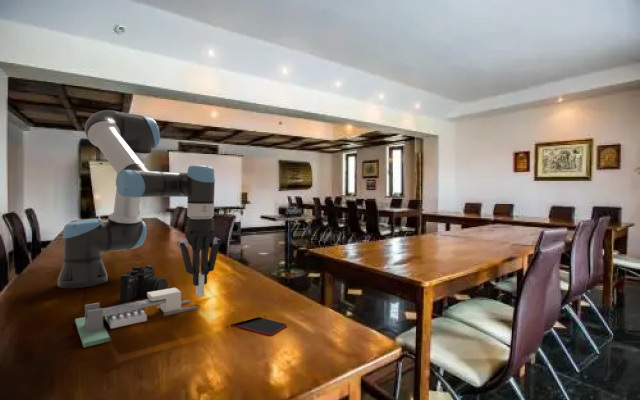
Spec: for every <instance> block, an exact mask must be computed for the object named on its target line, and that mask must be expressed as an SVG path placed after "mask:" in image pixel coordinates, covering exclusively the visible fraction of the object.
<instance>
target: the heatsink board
mask: <svg viewBox="0 0 640 400" xmlns="http://www.w3.org/2000/svg"><path fill="white" fill-rule="evenodd" d="M190 300H191V299H186V300H183V301H182V300H181V306H182V305H186V304H190V302H191V301H190ZM100 304H101V303H100V302H95V303H89V304H84V317H77V318H75V320H74V323H75V325H76V326H75V327H76V329H77V333H78V335H79V338H80V341H81V345H82V347H83V348H87V347H88V348H89V347H92V346H96V345H100V344H105V343H108V342H112V340H113V339H112V338H111V336H110V334H109V332H108V331H107V329H106V327H105V325H104V317H105V321H106V323H107V324H108V326H109V328H110V329H116V328H120V327H124V326H128V325H133V324H138V323H142V322H143V323H144V322H147V321H148V317H147V316H148V315H147V314H146V313H145V311H144V309H143V308H140V309H135V310H131V311H126V312H122V313H117V314H113V315H108V316H104V317H103V307H101V308H100ZM196 309H198V305H193V306H189V307H188V306H187V307H184V308H183V307H182V308H181V309H178V310H173V311H169V312H163V316H164V317H167V316H170V315H174V314H179V313H183V312H188V311H193V310H196ZM156 310H161V305H157V306H156Z"/></svg>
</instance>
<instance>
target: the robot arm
mask: <svg viewBox="0 0 640 400" xmlns="http://www.w3.org/2000/svg"><path fill="white" fill-rule="evenodd" d="M84 133H85V136H86V138H87V139H88V141H89V142H90V143H91V144H92V145H93V146H95V147H97V148H98V149H99V150H100V152H101V153H102V155H103V156H104V157H105V159H106V160H107V162H108V163H109V164H110V166H111V167H112V168H113V170H114V172H115V173H116V178H115V187H116V190H115V197H114V207H113V212H112V213H111V214H109V215H108V217H107V218H108V220H107V221H103V220H102V219H101V218H89V219H81V220H76V221H71V222H69V223H66V224H65V225H64V227H63V234H62V238H63V265H62V267H61V270H60V273H59V275H58V278H57V287H58V288H61V289H81V288H89V287H94V286H95V287H96V286H99V285H102V284H104V283H106V282H108V280H109V279H108V273H107V269H106V268H105V264H104V262H103V253H108V252H110V253H111V252H116V251H117V252H118V251H129V250H133V249H137V248H139V247H141V246H142V245H143V244H144V242H145V240H146V237H147V225H146V222H145V221H143V218H142V217H141V215H140V214H139V212H140V205H141V198H147V197H148V198H151V197H152V198H153V197H154V198H155V197H156V198H157V197H159V198H162V197H164V198H166V197H167V198H171V197H173V198H174V197H175V198H179V197H180V198H186V197H187V211H186V214H187V217H189V218H188V219H186V220H187V221H186V222H187V223H186V234H185V237H184V239H182V240H181V241H178V242H177V246H178V247H179V249H180V251H181V255H182V259H183V263H184V267H185V271H186V273H188V274H189V275H192V284H193V286H195V296H196V297H198V298H202V297H205V285H207V283H208V275H209V273H210V272H213V271H214V269H215V264H216V261H217V258H218V257H217V256H218V253H219V248H220V246H221V244H223V240H222V239H220V238H218V237H216V234H215V233H214V231H215V219H214V218H213V217H214V216H215V183H216V182H215V181H216V178H215V169H214V168H213V167H212V166H209V165H189V166H188V168H187V172H174V171H172V172H170V171H156V170H155V171H153V170H149V169H148V167H146V159H147V157H148V156H150V155H151V154H152V149H155V148H157V147H158V146H159V144H160V140H161V139H160V138H161V134H160V128H159V125H158V123H157V122H156V120H155V119H153V118H152V117H149V116H145V115H141V114H135V113H127V112H124V111H117V110H111V109H105V110H101V111H97V112H95V113H93V114H92V115H91V116H90V117H88V119H87V120H86V122H85V126H84ZM211 244H212V245H211ZM210 245H211V248H210V247H209V246H210ZM189 246H190V247H191V252H192V261H191V256H190V253H189V249H188V247H189ZM209 250H210V252H209Z"/></svg>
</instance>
